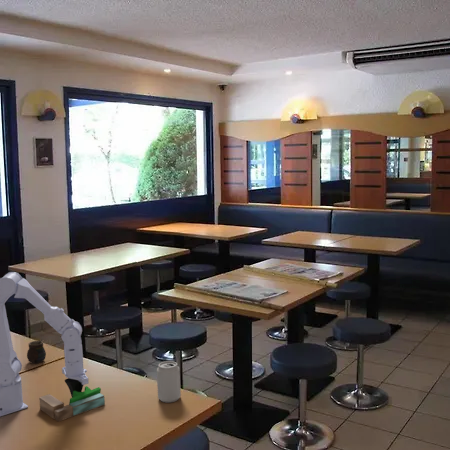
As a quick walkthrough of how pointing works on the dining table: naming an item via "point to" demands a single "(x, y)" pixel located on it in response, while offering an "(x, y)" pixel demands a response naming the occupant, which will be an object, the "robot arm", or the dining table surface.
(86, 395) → the pipe clamp
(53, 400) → the brown wooden block
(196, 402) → the dining table surface
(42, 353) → the mate gourd
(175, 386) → the can
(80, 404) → the rail
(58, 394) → the dining table surface
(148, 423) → the dining table surface
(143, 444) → the dining table surface
